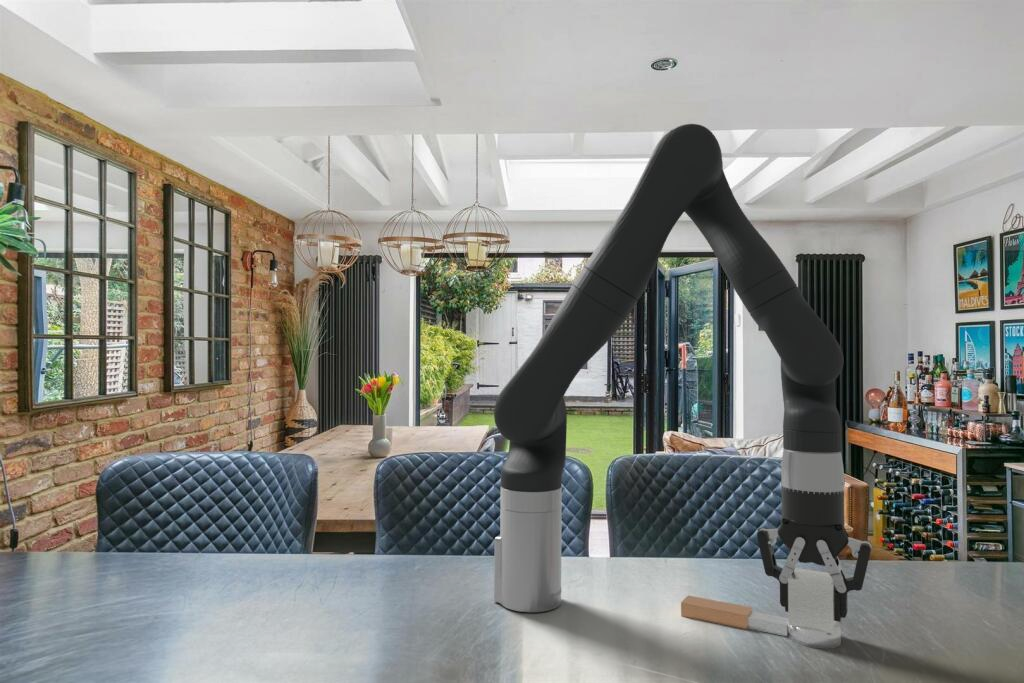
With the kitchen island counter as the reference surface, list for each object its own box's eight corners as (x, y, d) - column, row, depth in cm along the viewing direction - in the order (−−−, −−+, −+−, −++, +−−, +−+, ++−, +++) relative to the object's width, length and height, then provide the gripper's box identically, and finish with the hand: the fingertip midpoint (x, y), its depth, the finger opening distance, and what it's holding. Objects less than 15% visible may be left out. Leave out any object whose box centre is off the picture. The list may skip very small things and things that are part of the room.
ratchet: (677, 619, 92) (677, 583, 93) (690, 605, 98) (690, 571, 98) (838, 652, 82) (838, 611, 82) (843, 635, 87) (842, 596, 88)
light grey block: (788, 625, 86) (787, 578, 86) (794, 612, 90) (794, 567, 90) (833, 633, 83) (833, 585, 83) (837, 620, 87) (837, 574, 88)
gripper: (749, 483, 88) (750, 613, 87) (872, 494, 80) (874, 637, 79) (760, 475, 94) (761, 596, 93) (875, 485, 87) (877, 617, 86)
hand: (813, 614), depth 86 cm, fingers closed on light grey block, 5 cm apart
